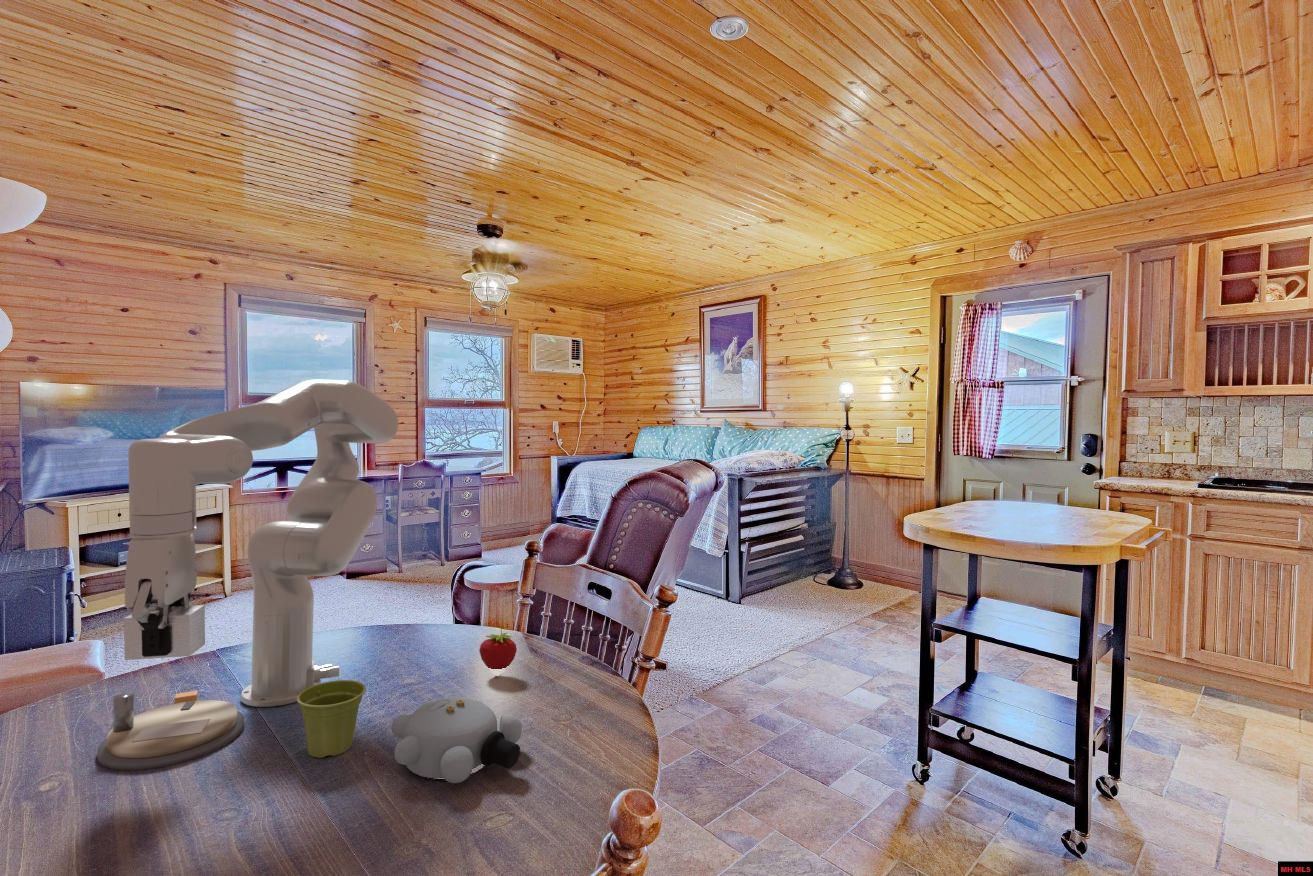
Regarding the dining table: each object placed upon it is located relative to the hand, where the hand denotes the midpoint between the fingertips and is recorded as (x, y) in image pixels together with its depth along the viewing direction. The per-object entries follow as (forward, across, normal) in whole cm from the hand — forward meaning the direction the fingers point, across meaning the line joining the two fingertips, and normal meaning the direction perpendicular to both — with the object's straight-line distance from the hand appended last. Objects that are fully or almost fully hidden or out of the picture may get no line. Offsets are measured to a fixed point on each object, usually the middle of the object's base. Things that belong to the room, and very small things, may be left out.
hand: (166, 647), depth 90 cm
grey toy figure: (+17, +9, +41) cm, 46 cm away
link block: (+1, 0, 0) cm, 1 cm away
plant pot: (+17, +1, +22) cm, 28 cm away
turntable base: (+17, -7, -2) cm, 19 cm away
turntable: (+16, -6, -2) cm, 17 cm away
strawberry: (+19, -23, +46) cm, 55 cm away
